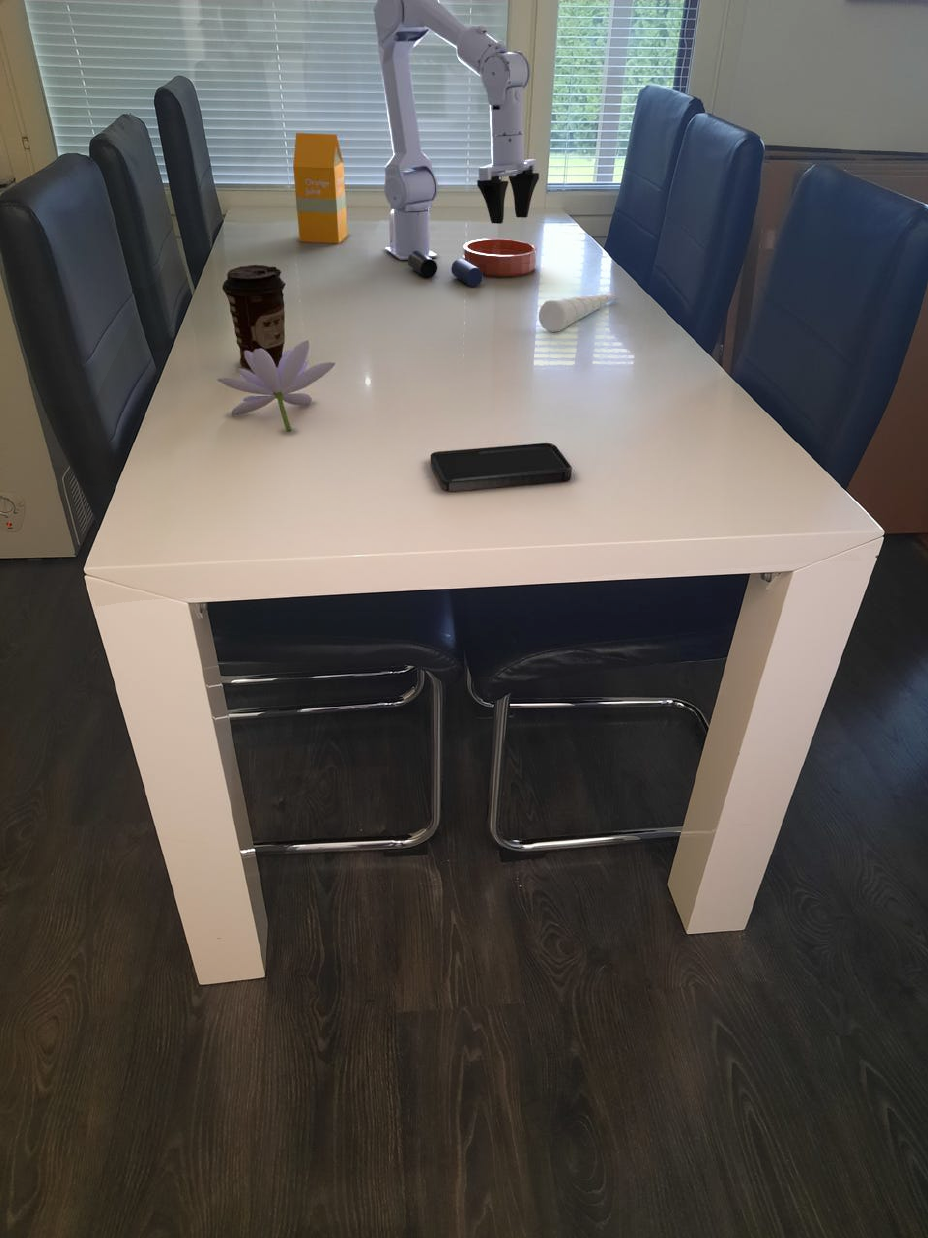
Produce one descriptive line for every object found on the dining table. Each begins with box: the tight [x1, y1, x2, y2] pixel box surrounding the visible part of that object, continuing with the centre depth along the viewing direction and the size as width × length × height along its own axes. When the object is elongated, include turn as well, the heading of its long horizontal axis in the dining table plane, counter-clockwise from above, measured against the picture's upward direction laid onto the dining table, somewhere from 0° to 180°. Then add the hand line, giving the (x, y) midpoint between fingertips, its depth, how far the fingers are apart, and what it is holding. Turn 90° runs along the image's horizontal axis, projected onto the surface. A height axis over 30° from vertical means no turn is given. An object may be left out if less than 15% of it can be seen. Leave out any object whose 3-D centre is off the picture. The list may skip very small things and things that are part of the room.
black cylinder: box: [407, 251, 438, 279], centre depth 164 cm, size 7×3×3 cm, turn 24°
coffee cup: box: [221, 264, 287, 372], centre depth 119 cm, size 9×8×13 cm
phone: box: [430, 442, 573, 492], centre depth 97 cm, size 8×1×15 cm
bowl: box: [462, 238, 538, 278], centre depth 168 cm, size 14×14×4 cm
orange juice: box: [292, 132, 348, 244], centre depth 181 cm, size 8×9×20 cm
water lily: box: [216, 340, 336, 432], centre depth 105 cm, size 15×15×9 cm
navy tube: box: [451, 258, 484, 288], centre depth 160 cm, size 7×3×3 cm, turn 24°
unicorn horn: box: [538, 293, 616, 333], centre depth 144 cm, size 5×24×5 cm, turn 142°
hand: (509, 220), depth 156 cm, fingers open, 7 cm apart
